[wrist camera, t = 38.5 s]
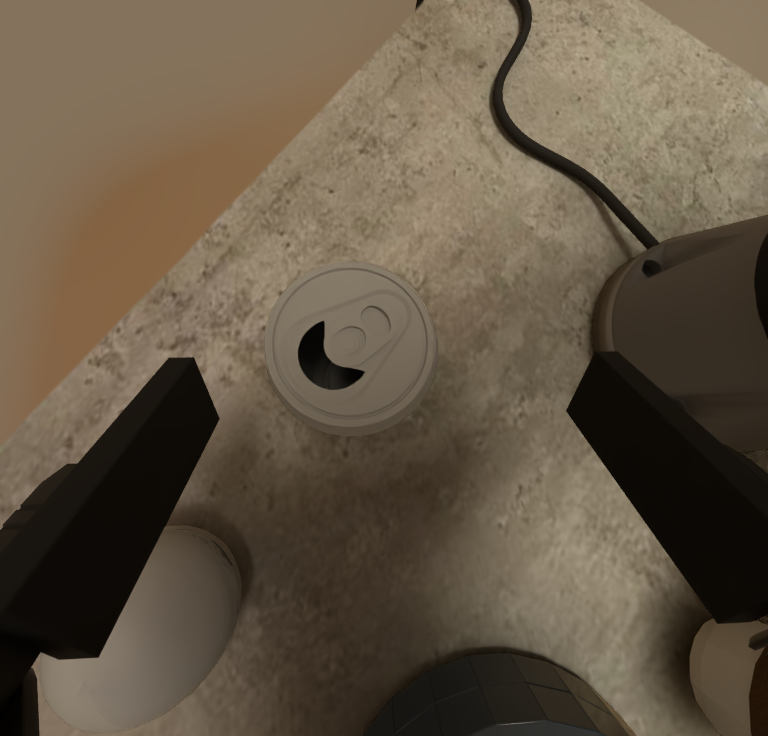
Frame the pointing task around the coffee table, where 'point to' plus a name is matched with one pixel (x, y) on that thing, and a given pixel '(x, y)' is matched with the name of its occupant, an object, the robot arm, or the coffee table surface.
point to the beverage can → (350, 348)
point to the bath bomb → (153, 638)
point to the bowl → (498, 702)
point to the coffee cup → (731, 678)
